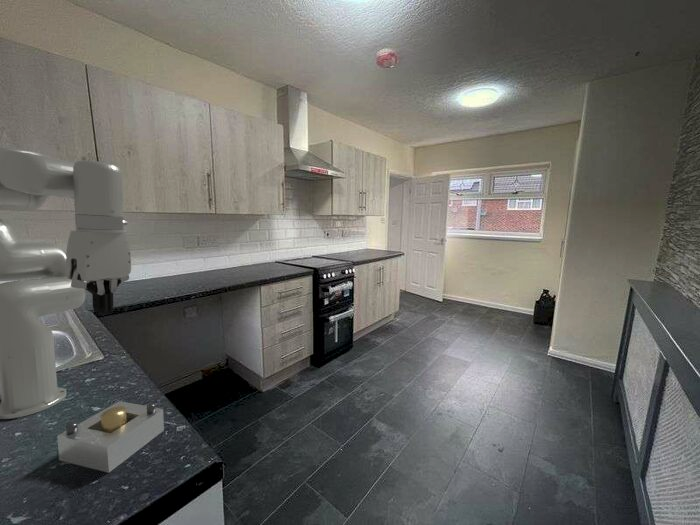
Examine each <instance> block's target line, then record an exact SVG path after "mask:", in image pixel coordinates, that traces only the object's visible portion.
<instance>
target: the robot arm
mask: <svg viewBox="0 0 700 525" xmlns="http://www.w3.org/2000/svg"><path fill="white" fill-rule="evenodd" d="M50 197H57V198H66V199H67V198H69V199H73V200H74V218H75V219H74V220H75V230H70V232H69V236H68V238H67V239H68V240H67V244H66V251H65V250H64V249H63V248H62V247H61V246H59V245H58V244H55V243H51V242H25V241H21V240H20V239H19V238H18V236H17V233H16V232H15V230H14V228H13V227H12V226H11V225H10V224H9V223H7V222H6V221H5V220H3V219H2V218H0V282H1V283H0V399H1V402H0V420H10V419H17V418H23V417H26V416H27V417H28V416H30V415H34V414H37V413H39V412H42V411H44V410H47V409H49V408H52V407H54V406H56V405H57V404H59V403H60V402H62V401H63V400H64V399H65V398H66V397H67V390H66V388H64V387H59V386H58V380H57V379H58V378H57V377H58V376H57V367H56V366H57V365H56V364H57V363H56V355H55V354H56V353H55V352H56V351H55V341H54V340H55V339H54V332H53V331H52V329H51V328H50V327H49V326H48V325H47V324H45V323H43V322H42V321H41V320H39V318H40V317H43V316H47V315H53V314H57V313H62V312H68V311H72V310H75V309H78V308H79V307H81V306H82V305H83V304H84V303H85V300H86V291H87V292H88V293H89V294H91V295H92V309H93V312H94V313H99V314H108V313H112V312H114V293H116V292H117V289H118V287H119V286H120V285H121V284H122V283H125V282H128V281H129V280H130V274H131V272H132V254H131V249H130V248H131V246H130V242H129V238H128V234H127V232H126V231H125V229H124V228H125V227H127V225H128V221H127V220H126V219H124V191H123V172H122V170H121V169H120V167H119V166H117V165H115V164H113V163H109V162H104V161H97V160H87V159H84V160H83V159H81V160H77V161H76V162H75V161H71V160H66V159H62V158H57V157H52V156H51V155H47V154H45V153H41V152H36V151H33V150H28V149H22V148H17V147H12V146H7V145H0V211H14V212H15V211H16V212H32V211H36V210H39V208H41V207H42V206H43V205H44V204H45V203H46V201H48V199H49V198H50Z"/></svg>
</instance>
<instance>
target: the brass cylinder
mask: <svg viewBox="0 0 700 525" xmlns="http://www.w3.org/2000/svg"><path fill="white" fill-rule="evenodd" d="M126 423H127V418H126V408H125V407H123V406H119V407H114V408H111V409H108V410H106V411H105V412H103V413H102V414H101V425H102V432H106V433H112V432H114V431H116V430H117V429H119V428H120V427H122V426H123V425H125V424H126Z"/></svg>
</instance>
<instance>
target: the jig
mask: <svg viewBox="0 0 700 525" xmlns="http://www.w3.org/2000/svg"><path fill="white" fill-rule="evenodd" d="M119 406H123V407H125V408H126V418H127V423H126V424H125V425H123V426H122V427H120V428H119V429H117V430H116V431H114V432H112V433H106V432H102V425H101V414H102V413H103V412H105V411H106V410H108V409H111V408H114V407H119ZM156 406H157V405H156V403H155V402H150V403H148V404H146V405H143V404H137V403H132V402H127V401H121V400H119V401H117V402H115V403H114V404H112V405H110V406H107V407H106V408H104V409H102V410H101V411H99V412H97V413H96V414H94V415H92V416H90V417H88V418H86V419H85V420H83V421H81V422H80V423H78V421H72V422H69V423H67V424H65V431H63V432H62V433H60V434H58V435H56V437H57V449H58V461H61V462H65V463H69V464H73V465H77V466H80V467H84V468H89V469H93V470H96V471H100V472H104V473H108V474H109V473H111V472H112V471H113V470H114V469H115V468H117V467H119V466H120V465H121V464H123V463H124V462H125V461H126V460H128V459H129V458H131V457H132V456H133V455H134V454H135V453H137V451H139V450H141V449H142V448H144V446H146V445H147V444H148V443H150V442H151V441H152V440H153V439H155V438H156V437H157V436H158V435H161V433H163V432H164V431H165V424H164V422H165V421H164V409H163V408H161V407H156Z"/></svg>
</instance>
